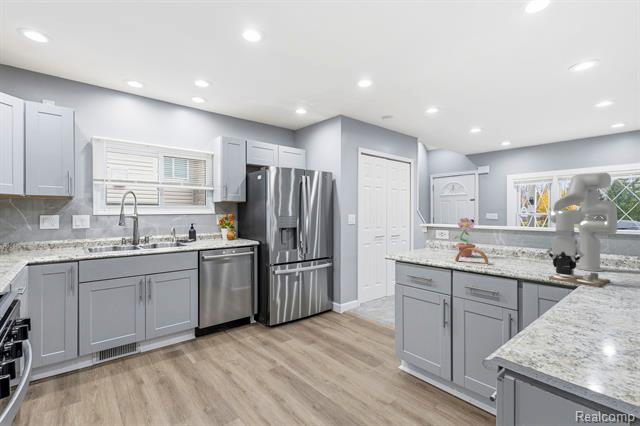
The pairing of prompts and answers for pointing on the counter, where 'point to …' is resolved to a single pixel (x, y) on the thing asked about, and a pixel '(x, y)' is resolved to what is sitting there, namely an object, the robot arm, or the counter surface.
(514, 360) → the counter surface
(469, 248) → the arch
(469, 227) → the decorative flower
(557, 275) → the board
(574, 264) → the robot arm
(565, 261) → the supplement bottle
